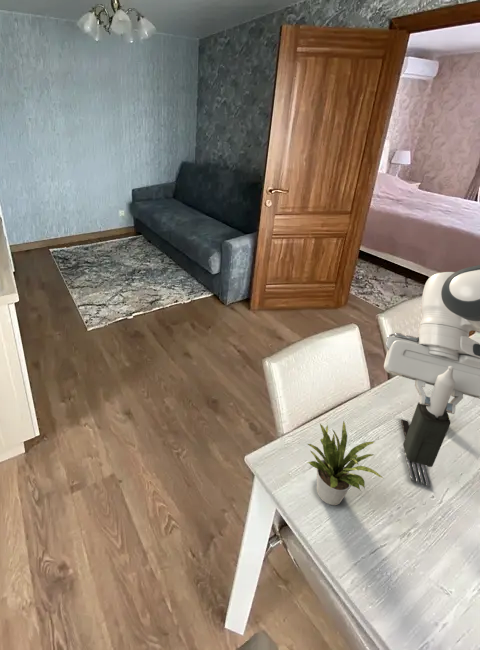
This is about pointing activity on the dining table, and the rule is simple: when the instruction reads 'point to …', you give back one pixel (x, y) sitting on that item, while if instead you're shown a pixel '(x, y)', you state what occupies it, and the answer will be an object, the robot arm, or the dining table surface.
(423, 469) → the fork
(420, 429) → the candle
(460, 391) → the robot arm
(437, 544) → the dining table surface
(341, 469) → the house plant
